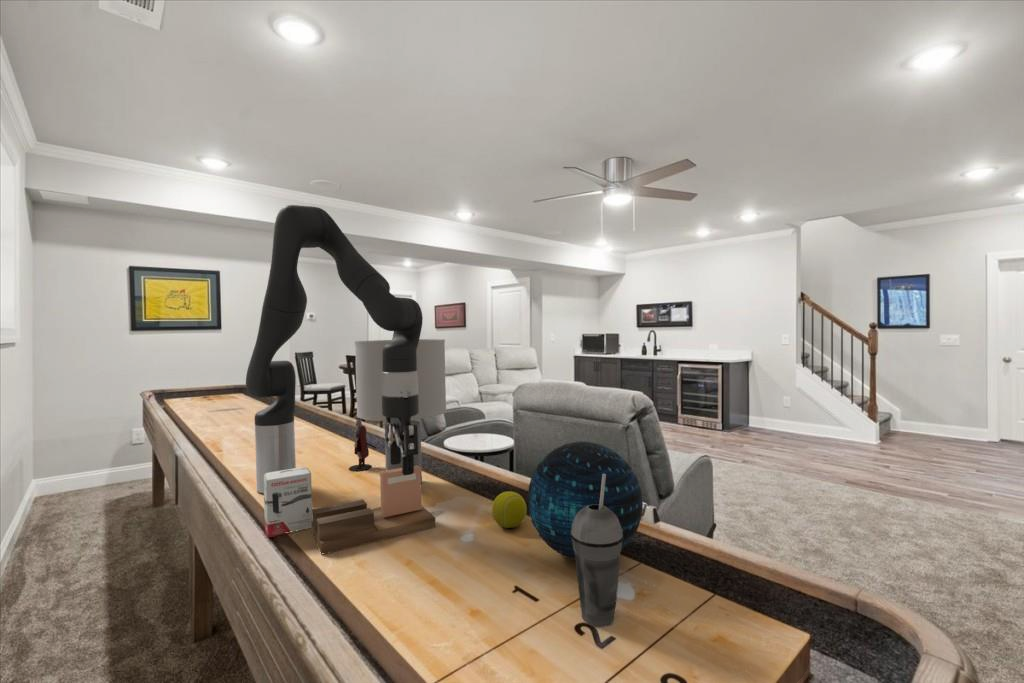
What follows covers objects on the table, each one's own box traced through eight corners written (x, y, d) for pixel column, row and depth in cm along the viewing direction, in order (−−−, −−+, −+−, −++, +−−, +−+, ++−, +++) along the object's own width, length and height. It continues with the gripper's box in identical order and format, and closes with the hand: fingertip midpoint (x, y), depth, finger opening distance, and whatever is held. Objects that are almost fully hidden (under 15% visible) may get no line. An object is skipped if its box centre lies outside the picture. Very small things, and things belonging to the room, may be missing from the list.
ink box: (267, 538, 93) (265, 479, 93) (264, 530, 97) (262, 473, 97) (313, 528, 98) (312, 471, 97) (309, 520, 102) (307, 465, 102)
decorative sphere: (506, 551, 86) (504, 442, 85) (583, 522, 98) (582, 426, 97) (587, 600, 70) (585, 466, 69) (667, 558, 82) (666, 444, 81)
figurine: (354, 464, 144) (353, 415, 144) (377, 465, 143) (376, 415, 143) (344, 471, 137) (343, 420, 137) (368, 471, 136) (367, 420, 136)
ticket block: (311, 531, 96) (311, 506, 96) (415, 508, 107) (415, 486, 107) (321, 554, 86) (320, 527, 86) (435, 526, 97) (434, 502, 97)
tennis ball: (533, 528, 95) (532, 494, 95) (503, 536, 92) (502, 501, 92) (515, 517, 101) (514, 484, 101) (486, 524, 98) (485, 491, 98)
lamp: (465, 479, 128) (462, 339, 127) (403, 506, 108) (399, 341, 108) (404, 467, 140) (401, 339, 139) (339, 490, 121) (335, 341, 120)
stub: (381, 514, 98) (380, 471, 98) (418, 506, 102) (417, 465, 102) (383, 517, 96) (382, 473, 96) (421, 509, 101) (420, 467, 100)
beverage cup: (566, 603, 69) (564, 467, 69) (615, 600, 70) (613, 465, 69) (578, 635, 62) (575, 484, 61) (632, 631, 62) (630, 481, 62)
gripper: (373, 390, 103) (374, 463, 104) (392, 398, 91) (394, 481, 92) (406, 387, 107) (407, 458, 108) (429, 395, 95) (430, 475, 95)
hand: (401, 469), depth 100 cm, fingers open, 8 cm apart
